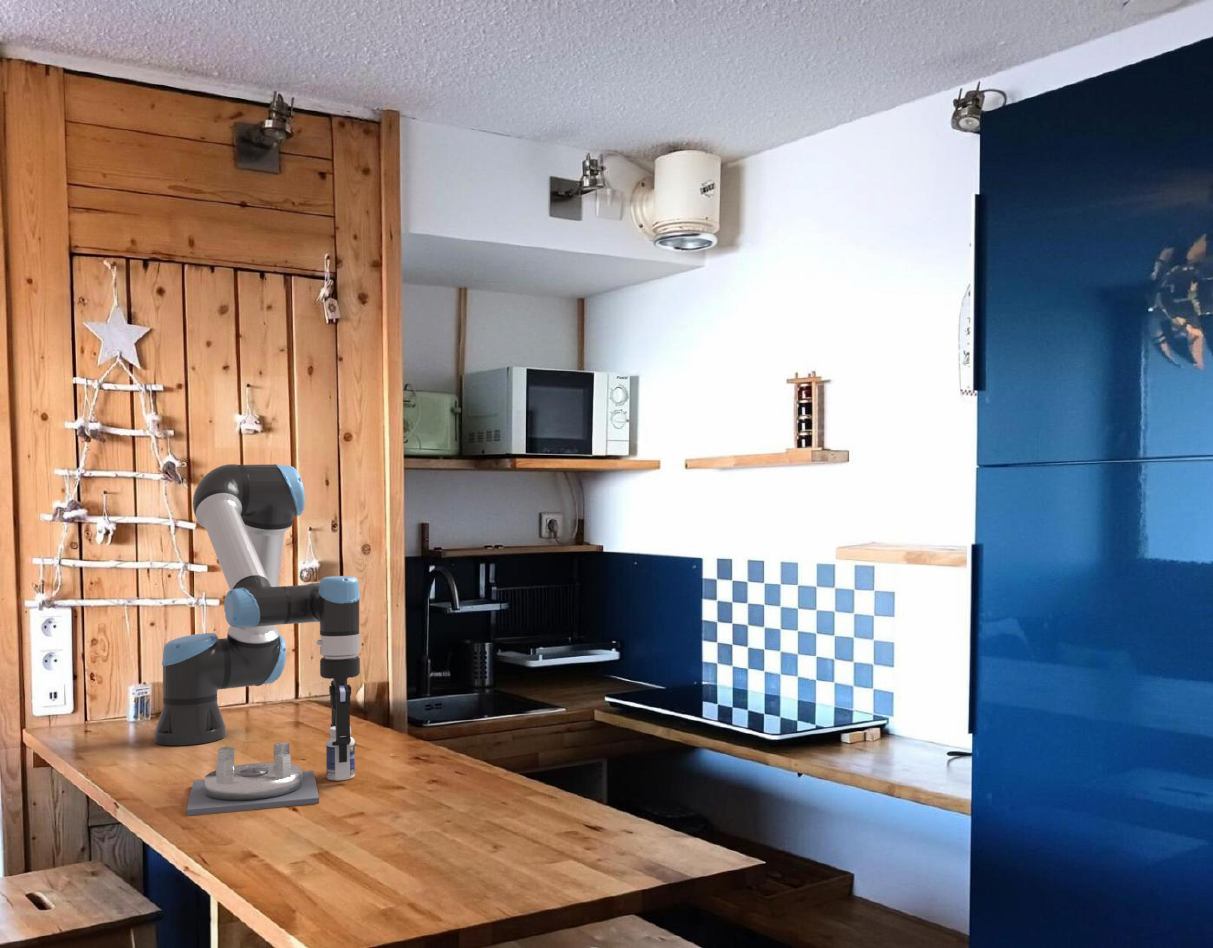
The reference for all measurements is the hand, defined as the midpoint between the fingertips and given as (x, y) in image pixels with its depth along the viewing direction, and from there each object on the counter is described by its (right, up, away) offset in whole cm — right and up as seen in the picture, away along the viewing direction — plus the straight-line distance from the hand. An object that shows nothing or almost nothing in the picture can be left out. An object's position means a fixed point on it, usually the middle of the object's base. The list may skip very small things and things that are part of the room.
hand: (340, 773), depth 213 cm
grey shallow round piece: (-13, +1, -11) cm, 17 cm away
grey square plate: (-13, -1, -11) cm, 17 cm away
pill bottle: (0, -1, 0) cm, 1 cm away
